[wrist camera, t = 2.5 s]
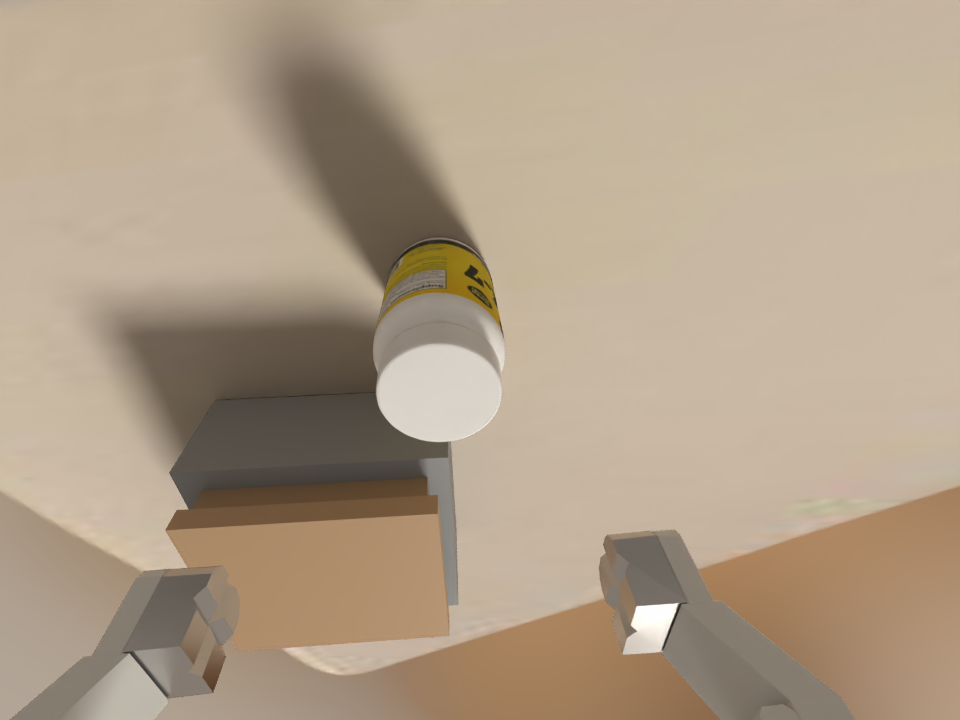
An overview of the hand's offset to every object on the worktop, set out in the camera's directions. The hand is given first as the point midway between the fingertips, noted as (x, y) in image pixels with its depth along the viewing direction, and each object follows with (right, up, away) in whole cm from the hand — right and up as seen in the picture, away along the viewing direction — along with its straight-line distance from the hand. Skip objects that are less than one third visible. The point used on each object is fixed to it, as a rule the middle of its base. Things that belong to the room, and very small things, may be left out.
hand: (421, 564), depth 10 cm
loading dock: (-6, -2, +18) cm, 19 cm away
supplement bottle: (-1, +8, +12) cm, 14 cm away
